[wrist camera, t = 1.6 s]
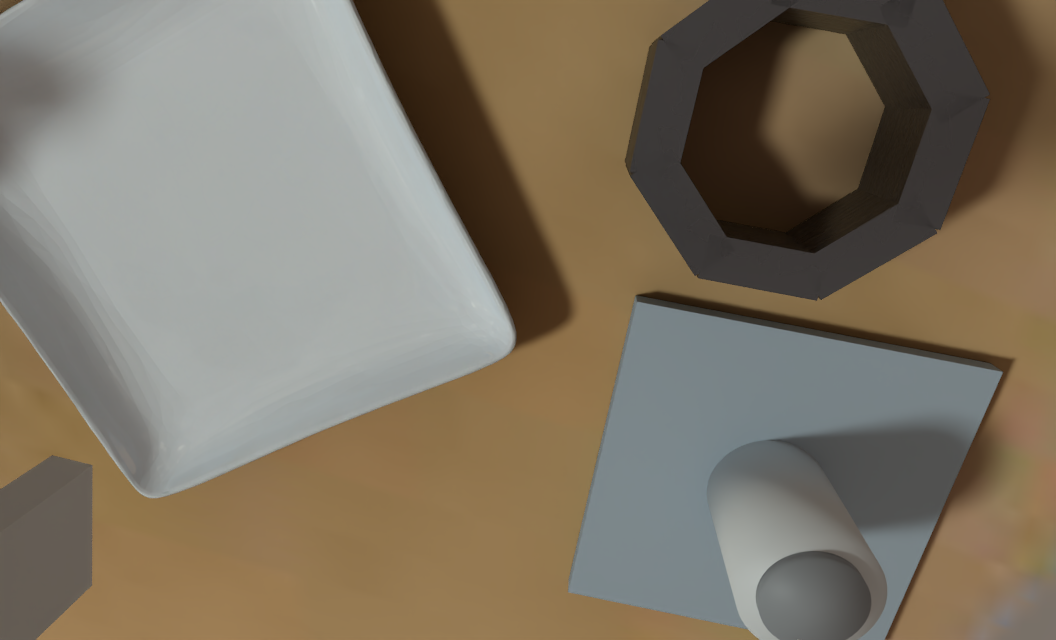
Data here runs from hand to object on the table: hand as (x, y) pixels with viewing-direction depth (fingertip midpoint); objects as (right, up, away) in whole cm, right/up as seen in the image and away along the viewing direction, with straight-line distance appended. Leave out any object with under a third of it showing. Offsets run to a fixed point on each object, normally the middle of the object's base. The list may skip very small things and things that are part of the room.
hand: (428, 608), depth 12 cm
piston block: (+13, -3, +21) cm, 25 cm away
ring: (+12, +13, +15) cm, 24 cm away
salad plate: (-12, +10, +19) cm, 25 cm away
